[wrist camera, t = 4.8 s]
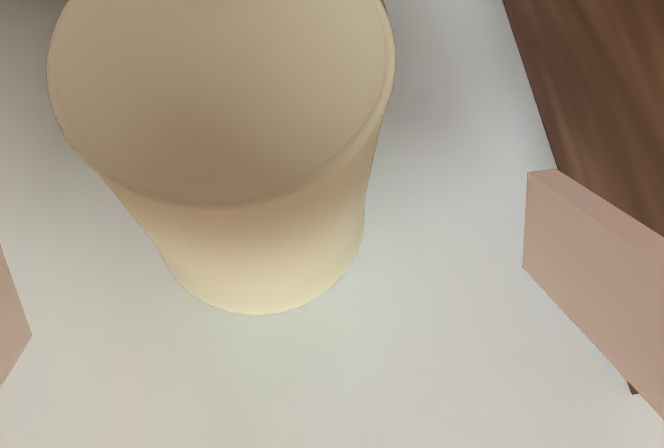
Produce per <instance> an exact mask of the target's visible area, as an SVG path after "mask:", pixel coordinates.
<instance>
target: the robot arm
mask: <svg viewBox="0 0 664 448" xmlns="http://www.w3.org/2000/svg"><path fill="white" fill-rule="evenodd" d="M522 267H523V268H524V269H525V270H526V271H527V273H528V274H529V275H530V276H531V277H532V278H533V279H534V280H535V281H536V282H537V283H538V284H539V286H540V287H541V288H542V289H543V290H544V291H545V292H546V293H547V294H548V295H549V296H550V297H551V298H552V300H553V301H554V302H555V303H556V304H557V305H558V306H559V307H560V308H561V309H562V310H563V311H564V313H565V314H566V315H567V316H568V317H569V318H570V319H571V320H572V321H573V322H574V323H575V324H576V326H577V327H578V328H579V329H580V330H581V331H582V332H583V333H584V334H585V335H586V336H587V337H588V339H589V340H590V341H591V342H592V343H593V344H594V345H595V346H596V347H597V348H598V349H599V350H600V351H601V353H602V354H603V355H604V356H605V357H606V358H607V359H608V360H609V361H610V362H611V363H612V364H613V366H614V367H615V368H616V369H617V370H618V371H619V372H620V373H621V374H622V375H623V376H624V377H625V379H626V380H627V381H628V382H629V383H630V384H631V385H632V386H633V387H634V388H635V389H636V390H637V391H638V393H639V394H640V395H641V396H642V397H643V398H644V399H645V400H646V401H647V402H648V403H649V404H650V406H651V407H652V408H653V409H654V410H655V411H656V412H657V413H658V414H659V415H660V416H661V417H662V419H663V420H664V237H662V236H661V235H659V234H658V233H656V232H654V231H653V230H651V229H650V228H648V227H647V226H645V225H643V224H642V223H640V222H639V221H637V220H636V219H634V218H633V217H631V216H629V215H628V214H626V213H625V212H623V211H622V210H620V209H618V208H617V207H615V206H614V205H612V204H611V203H609V202H607V201H606V200H604V199H603V198H601V197H600V196H598V195H596V194H595V193H593V192H592V191H590V190H589V189H587V188H585V187H584V186H582V185H581V184H579V183H578V182H576V181H574V180H573V179H571V178H570V177H568V176H567V175H565V174H563V173H562V172H560V171H559V170H557V169H551V170H543V171H535V172H528V174H527V193H526V211H525V230H524V248H523V266H522ZM31 336H32V334H31V331H30V328H29V325H28V322H27V319H26V317H25V314H24V311H23V308H22V305H21V302H20V300H19V297H18V294H17V291H16V288H15V285H14V283H13V280H12V277H11V274H10V271H9V268H8V266H7V263H6V260H5V257H4V254H3V251H2V249H1V246H0V387H1V385H2V384H3V382H4V381H5V379H6V377H7V376H8V374H9V372H10V371H11V369H12V367H13V366H14V364H15V363H16V361H17V359H18V358H19V356H20V354H21V353H22V351H23V350H24V348H25V346H26V345H27V343H28V341H29V340H30V338H31Z"/></svg>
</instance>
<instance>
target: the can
mask: <svg viewBox="0 0 664 448" xmlns="http://www.w3.org/2000/svg"><path fill="white" fill-rule="evenodd" d="M395 69H396V54H395V43H394V36H393V32H392V28H391V25H390V21H389V18H388V16H387V13H386V11H385V8H384V6H383V5H382V3H381V1H380V0H68V2H67V3H66V5H65V6H64V8H63V10H62V12H61V14H60V16H59V18H58V20H57V22H56V25H55V28H54V30H53V33H52V36H51V39H50V44H49V50H48V56H47V62H46V80H47V88H48V95H49V99H50V103H51V107H52V110H53V112H54V115H55V118H56V120H57V122H58V124H59V126H60V128H61V130H62V132H63V134H64V135H65V137H66V139H67V140H68V142H69V143H70V145H71V146H72V147H73V149H74V150H75V151H76V152H77V154H78V155H79V156H80V157H81V158H82V159H83V160H84V161H85V162H86V163H87V164H88V165H89V166H90V167H91V168H92V169H93V170H95V171H96V172H97V173H98V174H99V175H100V176H101V177H102V179H103V180H104V181H105V182H106V184H107V185H108V186H109V187H110V189H111V190H112V191H113V192H114V193H115V195H116V196H117V197H118V198H119V200H120V201H121V202H122V203H123V205H124V206H125V207H126V208H127V210H128V211H129V212H130V213H131V214H132V216H133V217H134V218H135V219H136V221H137V222H138V223H139V225H140V226H141V227H142V228H143V230H144V231H145V232H146V234H147V235H148V236H149V238H150V239H151V240H152V241H153V243H154V244H155V245H156V247H157V248H158V249H159V251H160V252H161V255H162V257H163V260H164V262H165V263H166V265H167V267H168V269H169V270H170V272H171V273H172V275H173V276H174V277H175V278H176V280H177V281H178V282H179V283H180V284H181V285H182V286H183V287H184V288H185V289H186V290H187V291H188V292H190V293H191V294H192V295H194V296H195V297H197V298H198V299H200V300H202V301H203V302H205V303H207V304H209V305H211V306H214V307H216V308H218V309H221V310H224V311H228V312H232V313H237V314H244V315H268V314H275V313H280V312H285V311H288V310H291V309H294V308H297V307H300V306H302V305H304V304H306V303H308V302H310V301H312V300H314V299H315V298H317V297H318V296H320V295H321V294H323V293H324V292H325V291H327V290H328V289H329V288H330V287H331V286H332V285H334V283H335V282H336V281H337V280H338V279H339V278H340V277H341V276H342V275H343V273H344V272H345V271H346V269H347V268H348V266H349V265H350V263H351V262H352V260H353V258H354V256H355V254H356V251H357V249H358V246H359V243H360V240H361V236H362V231H363V225H364V201H365V196H366V191H367V186H368V181H369V176H370V171H371V166H372V161H373V157H374V152H375V148H376V144H377V139H378V135H379V131H380V127H381V122H382V118H383V114H384V112H385V110H386V107H387V104H388V102H389V99H390V95H391V92H392V89H393V83H394V78H395Z"/></svg>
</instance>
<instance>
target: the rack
mask: <svg viewBox="0 0 664 448" xmlns="http://www.w3.org/2000/svg"><path fill="white" fill-rule="evenodd" d="M503 3H504V6H505V9H506V12H507V15H508V18H509V21H510V24H511V27H512V30H513V33H514V36H515V39H516V42H517V45H518V48H519V51H520V54H521V57H522V60H523V63H524V66H525V70H526V73H527V76H528V79H529V82H530V85H531V88H532V91H533V94H534V97H535V100H536V103H537V106H538V109H539V112H540V115H541V118H542V121H543V124H544V127H545V130H546V133H547V136H548V140H549V143H550V146H551V149H552V152H553V155H554V158H555V161H556V164H557V167H558V170H559V171H560V172H562V173H563V174H565V175H567V176H568V177H570V178H571V179H573V180H574V181H576V182H578V183H579V184H581V185H582V186H584V187H585V188H587V189H589V190H590V191H592V192H593V193H595V194H596V195H598V196H600V197H601V198H603V199H604V200H606V201H607V202H609V203H611V204H612V205H614V206H615V207H617V208H618V209H620V210H622V211H623V212H625V213H626V214H628V215H629V216H631V217H633V218H634V219H636V220H637V221H639V222H640V223H642V224H643V225H645V226H647V227H648V228H650V229H651V230H653V231H654V232H656V233H658V234H659V235H661V236H662V237H664V0H503ZM628 383H629V382H628ZM629 386H630V389H631V392H632V395H633V394H639V393H638V391H637V390H636V389H635V388H634V387H633V386H632V385H631V384H630V383H629Z"/></svg>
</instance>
